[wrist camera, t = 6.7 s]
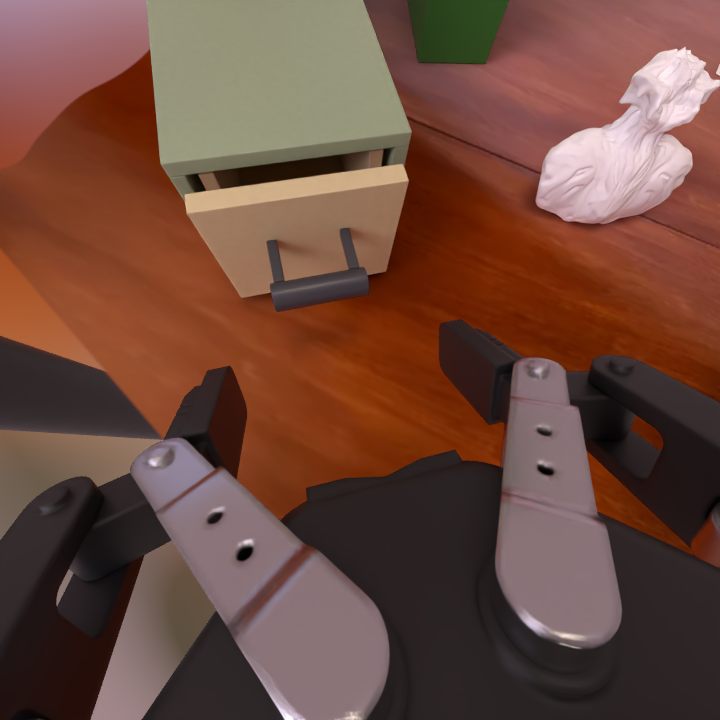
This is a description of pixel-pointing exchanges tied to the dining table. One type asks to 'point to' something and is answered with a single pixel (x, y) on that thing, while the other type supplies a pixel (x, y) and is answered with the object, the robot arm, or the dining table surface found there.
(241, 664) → the robot arm
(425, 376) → the dining table surface
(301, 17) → the cabinet
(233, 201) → the drawer
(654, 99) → the bust
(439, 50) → the hardback book
